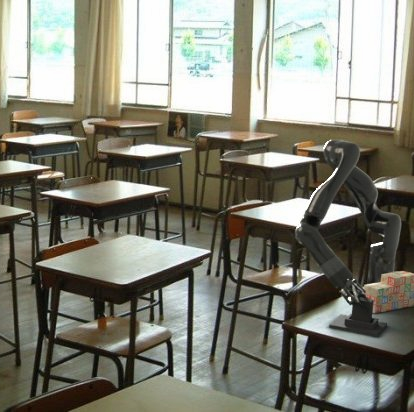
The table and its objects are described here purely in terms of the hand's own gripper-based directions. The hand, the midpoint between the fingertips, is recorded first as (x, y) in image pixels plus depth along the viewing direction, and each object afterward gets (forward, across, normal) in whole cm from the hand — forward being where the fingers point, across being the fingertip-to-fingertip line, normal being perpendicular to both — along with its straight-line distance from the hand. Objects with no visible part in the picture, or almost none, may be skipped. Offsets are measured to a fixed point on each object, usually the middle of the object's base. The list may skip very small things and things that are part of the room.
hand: (367, 309), depth 297 cm
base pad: (+3, 0, +6) cm, 7 cm away
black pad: (+3, 0, +5) cm, 6 cm away
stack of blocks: (+6, +30, +4) cm, 30 cm away
